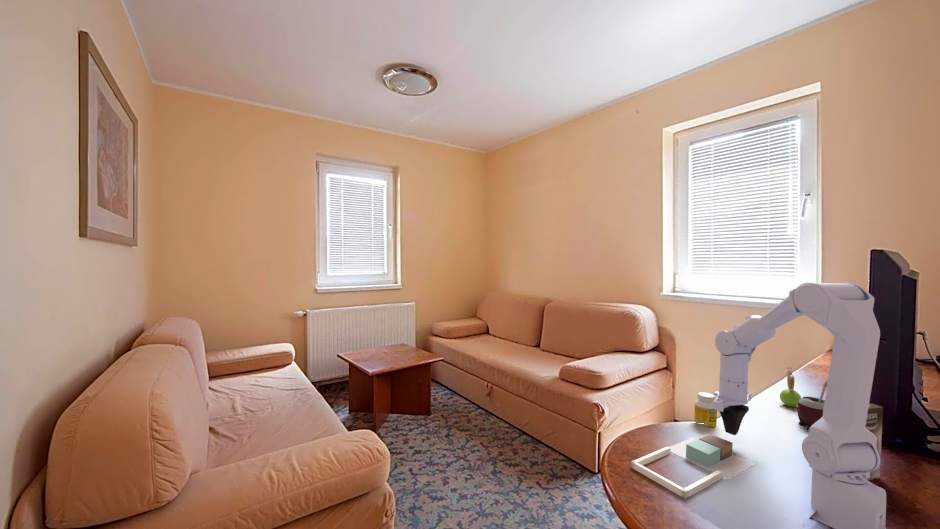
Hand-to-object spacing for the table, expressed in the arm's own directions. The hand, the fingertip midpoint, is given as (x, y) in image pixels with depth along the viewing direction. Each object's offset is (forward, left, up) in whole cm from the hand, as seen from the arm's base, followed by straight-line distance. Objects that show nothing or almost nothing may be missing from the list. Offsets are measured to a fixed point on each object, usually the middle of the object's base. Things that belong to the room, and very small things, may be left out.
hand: (731, 433), depth 92 cm
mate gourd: (-5, -36, -5) cm, 37 cm away
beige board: (0, +11, -5) cm, 11 cm away
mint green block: (0, +13, -3) cm, 13 cm away
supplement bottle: (+10, -7, -5) cm, 13 cm away
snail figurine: (+5, -49, -5) cm, 50 cm away
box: (0, +24, -5) cm, 24 cm away
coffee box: (-18, -13, -5) cm, 23 cm away
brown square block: (0, +8, -3) cm, 8 cm away
